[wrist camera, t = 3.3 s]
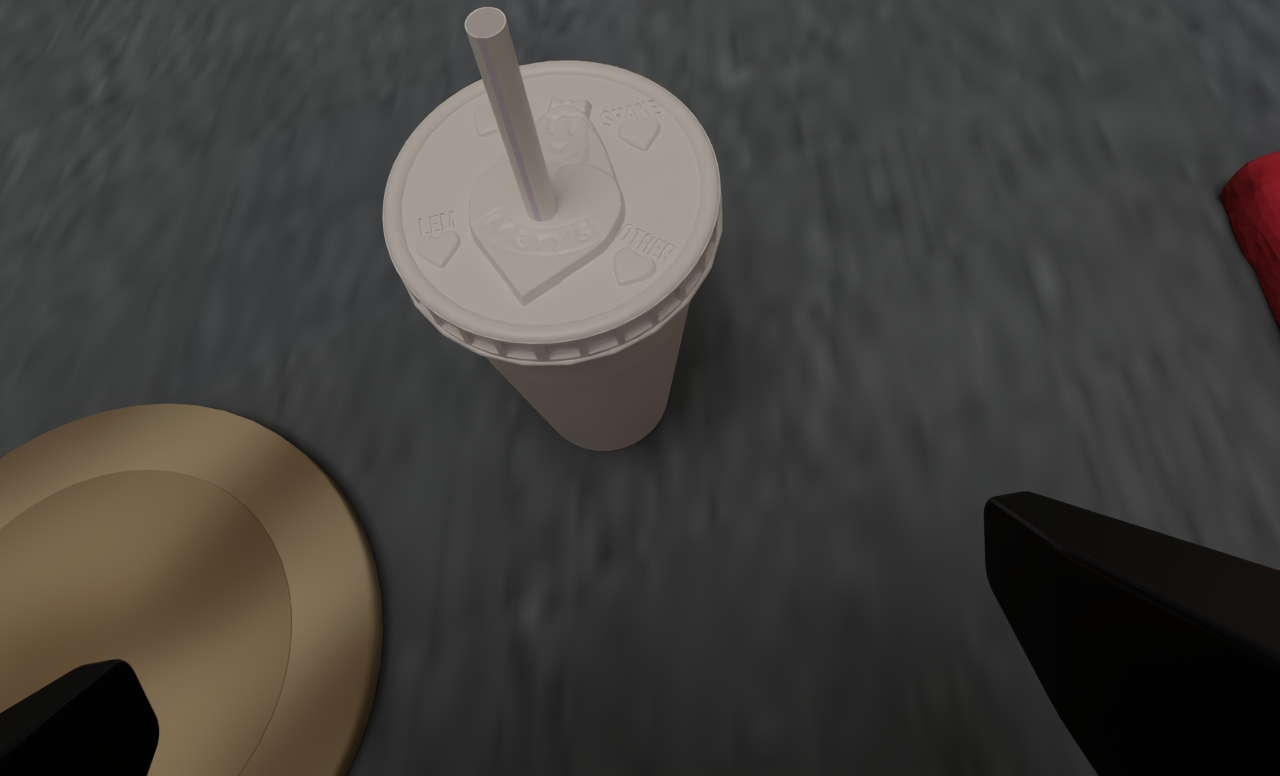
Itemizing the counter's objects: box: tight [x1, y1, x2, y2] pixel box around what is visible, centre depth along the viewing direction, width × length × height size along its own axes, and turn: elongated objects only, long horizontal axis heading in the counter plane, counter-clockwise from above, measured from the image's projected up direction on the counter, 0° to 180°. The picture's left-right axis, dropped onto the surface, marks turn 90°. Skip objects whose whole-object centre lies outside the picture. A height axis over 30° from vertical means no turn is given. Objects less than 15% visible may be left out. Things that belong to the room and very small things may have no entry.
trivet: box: [0, 404, 383, 776], centre depth 21 cm, size 14×14×1 cm
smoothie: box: [383, 7, 722, 451], centre depth 18 cm, size 6×6×14 cm
